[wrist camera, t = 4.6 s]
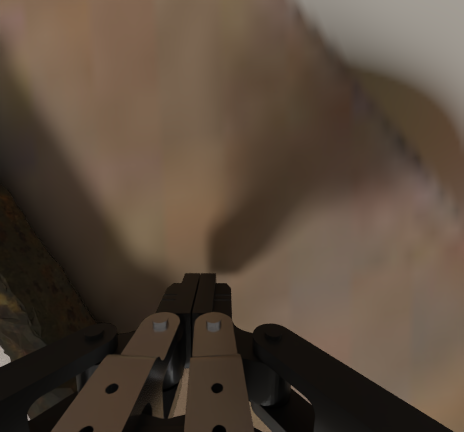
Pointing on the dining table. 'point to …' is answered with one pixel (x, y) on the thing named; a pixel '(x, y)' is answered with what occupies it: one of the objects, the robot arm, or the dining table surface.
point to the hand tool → (34, 297)
